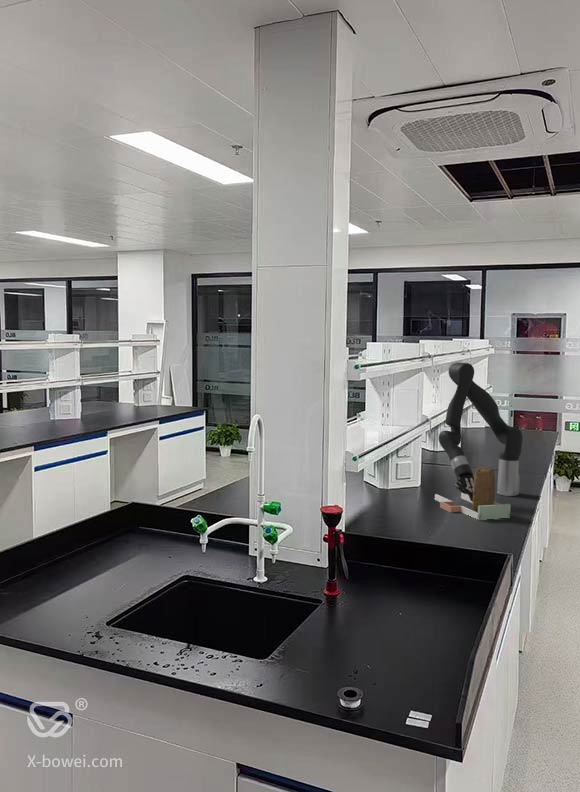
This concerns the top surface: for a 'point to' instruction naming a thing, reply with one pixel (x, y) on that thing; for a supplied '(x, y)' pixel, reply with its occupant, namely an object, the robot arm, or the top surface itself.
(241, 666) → the top surface
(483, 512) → the trap channel
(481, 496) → the block
